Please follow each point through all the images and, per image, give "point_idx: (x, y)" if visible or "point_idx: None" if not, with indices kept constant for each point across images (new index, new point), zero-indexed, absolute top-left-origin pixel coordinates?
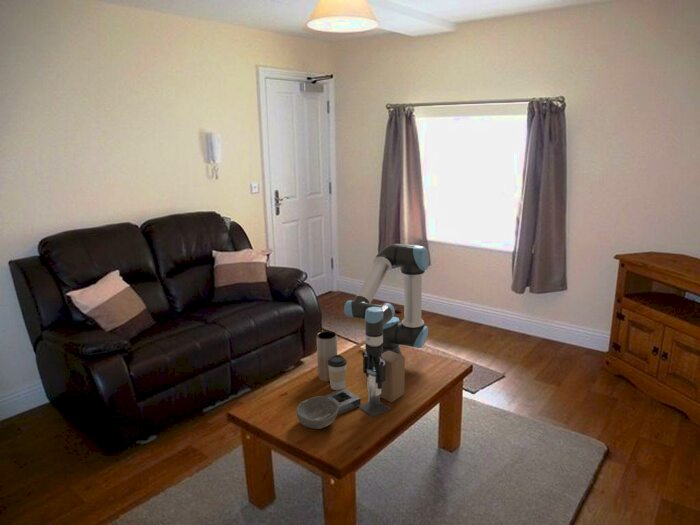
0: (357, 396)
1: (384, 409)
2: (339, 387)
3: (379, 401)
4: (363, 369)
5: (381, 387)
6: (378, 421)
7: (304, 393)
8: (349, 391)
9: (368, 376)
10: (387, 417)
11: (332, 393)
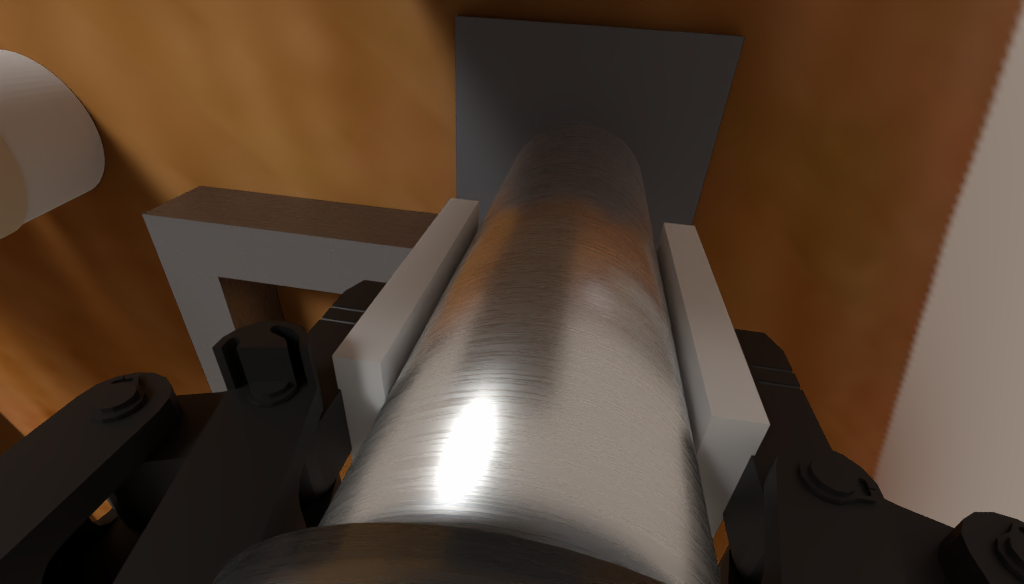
0: (365, 244)
1: (695, 114)
2: (82, 170)
3: (636, 165)
4: (91, 581)
5: (778, 361)
6: (756, 295)
7: (90, 364)
8: (235, 231)
9: (353, 450)
10: (802, 190)
11: (207, 350)
